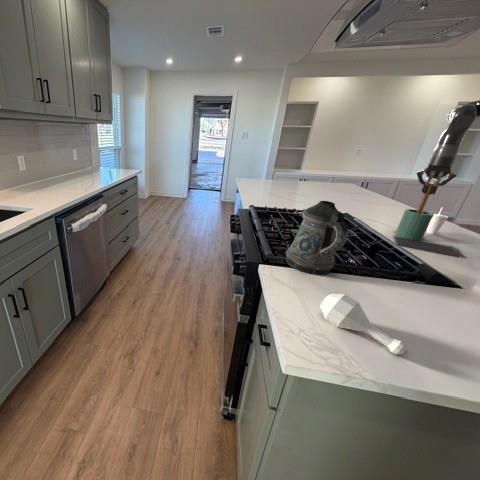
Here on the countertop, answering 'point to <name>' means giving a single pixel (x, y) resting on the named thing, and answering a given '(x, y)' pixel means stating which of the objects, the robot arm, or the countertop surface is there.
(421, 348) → the countertop surface
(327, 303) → the chicken leg
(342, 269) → the countertop surface
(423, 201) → the brush
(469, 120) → the robot arm
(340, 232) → the beer stein
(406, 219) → the jar
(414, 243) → the drying mat
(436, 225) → the smoothie
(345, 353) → the countertop surface
